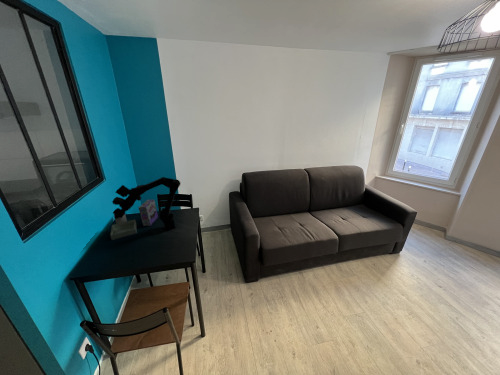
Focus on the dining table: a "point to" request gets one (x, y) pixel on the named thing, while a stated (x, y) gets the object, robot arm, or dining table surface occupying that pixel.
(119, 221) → the jar
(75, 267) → the dining table surface
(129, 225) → the bin
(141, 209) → the candy box
